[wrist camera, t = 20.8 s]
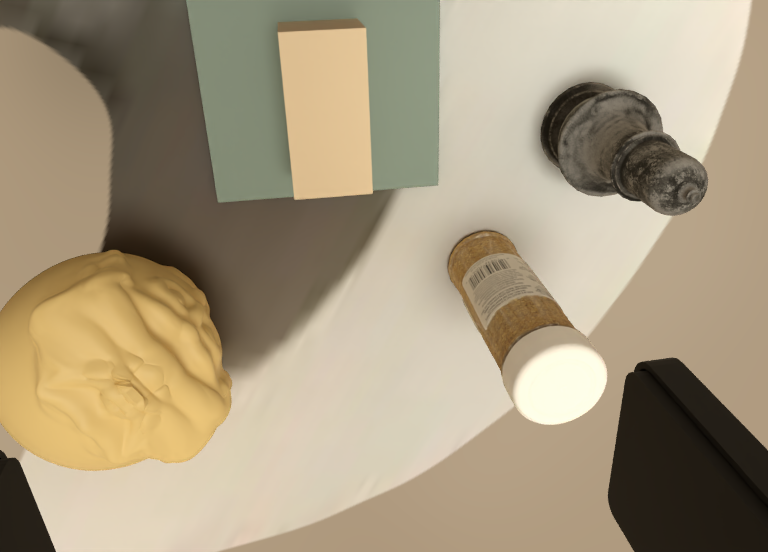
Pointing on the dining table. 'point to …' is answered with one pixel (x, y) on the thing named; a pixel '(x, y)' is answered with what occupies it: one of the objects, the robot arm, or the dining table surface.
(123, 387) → the sculpture
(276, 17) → the lid
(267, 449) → the dining table surface
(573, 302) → the dining table surface
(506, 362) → the sprinkles bottle
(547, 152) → the dark grey turned piece
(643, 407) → the robot arm
